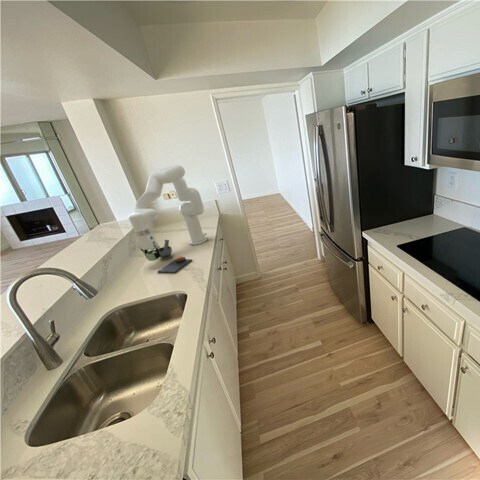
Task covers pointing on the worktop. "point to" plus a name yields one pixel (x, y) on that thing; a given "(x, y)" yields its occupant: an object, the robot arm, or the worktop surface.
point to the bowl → (150, 255)
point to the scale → (175, 266)
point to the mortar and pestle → (165, 251)
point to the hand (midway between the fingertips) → (153, 257)
